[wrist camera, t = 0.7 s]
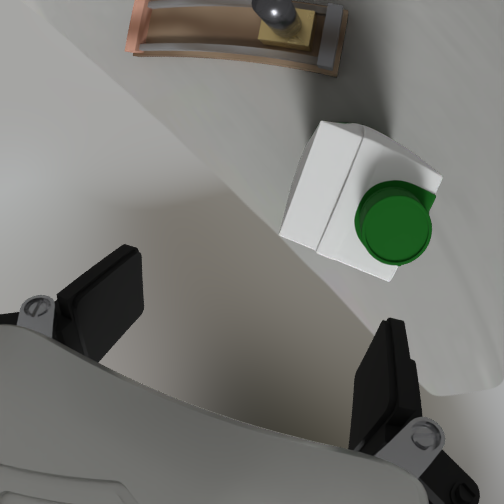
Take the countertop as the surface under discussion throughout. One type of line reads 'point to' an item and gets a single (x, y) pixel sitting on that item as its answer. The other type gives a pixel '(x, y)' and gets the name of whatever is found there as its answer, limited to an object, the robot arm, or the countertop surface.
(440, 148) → the countertop surface
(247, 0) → the rail base
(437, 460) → the robot arm
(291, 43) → the slider
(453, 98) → the countertop surface
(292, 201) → the milk carton
